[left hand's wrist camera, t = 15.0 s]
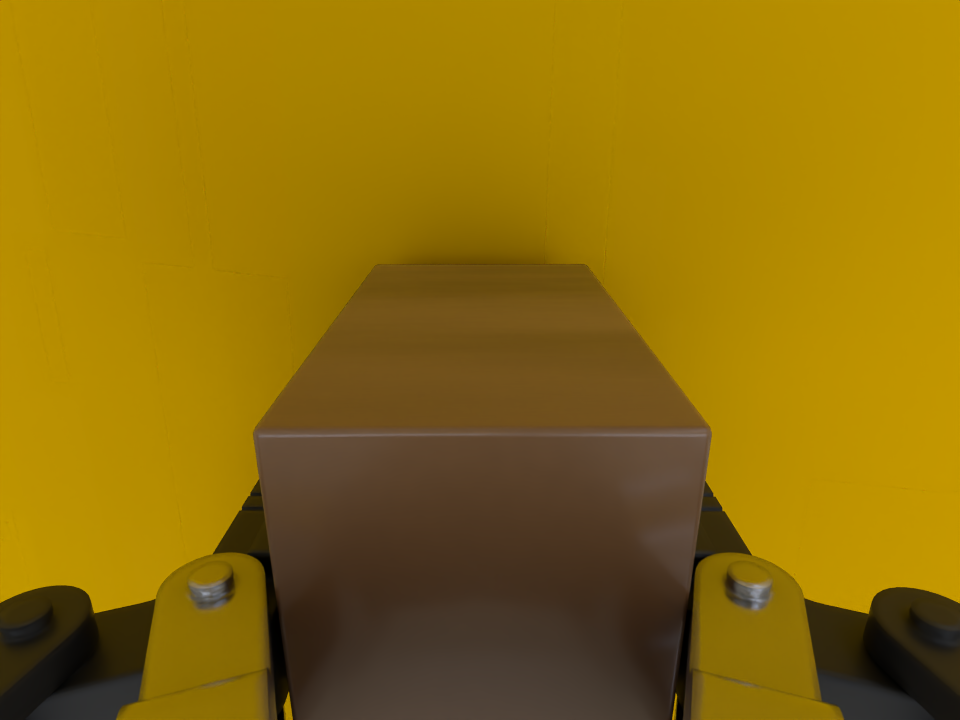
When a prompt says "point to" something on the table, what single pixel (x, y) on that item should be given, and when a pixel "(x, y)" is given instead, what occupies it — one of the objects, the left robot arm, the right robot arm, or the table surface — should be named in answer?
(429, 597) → the bar
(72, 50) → the table surface
